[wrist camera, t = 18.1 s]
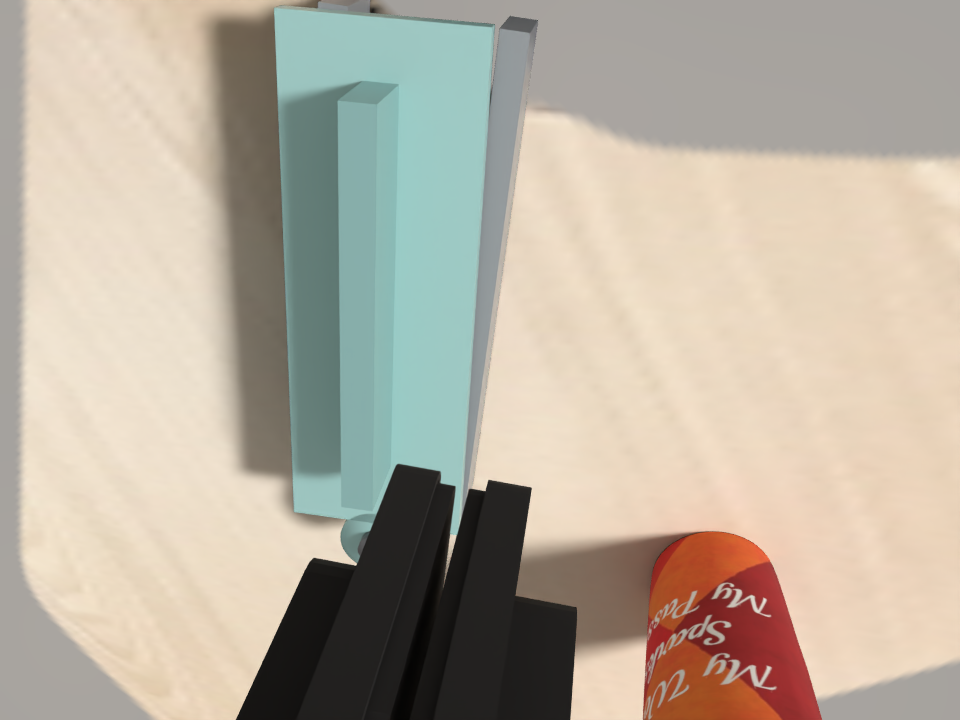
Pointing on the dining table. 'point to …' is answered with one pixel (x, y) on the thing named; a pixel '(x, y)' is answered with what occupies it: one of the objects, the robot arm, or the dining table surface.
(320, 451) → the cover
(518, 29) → the grey frame
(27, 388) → the dining table surface
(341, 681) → the robot arm
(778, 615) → the paper cup
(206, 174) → the dining table surface
